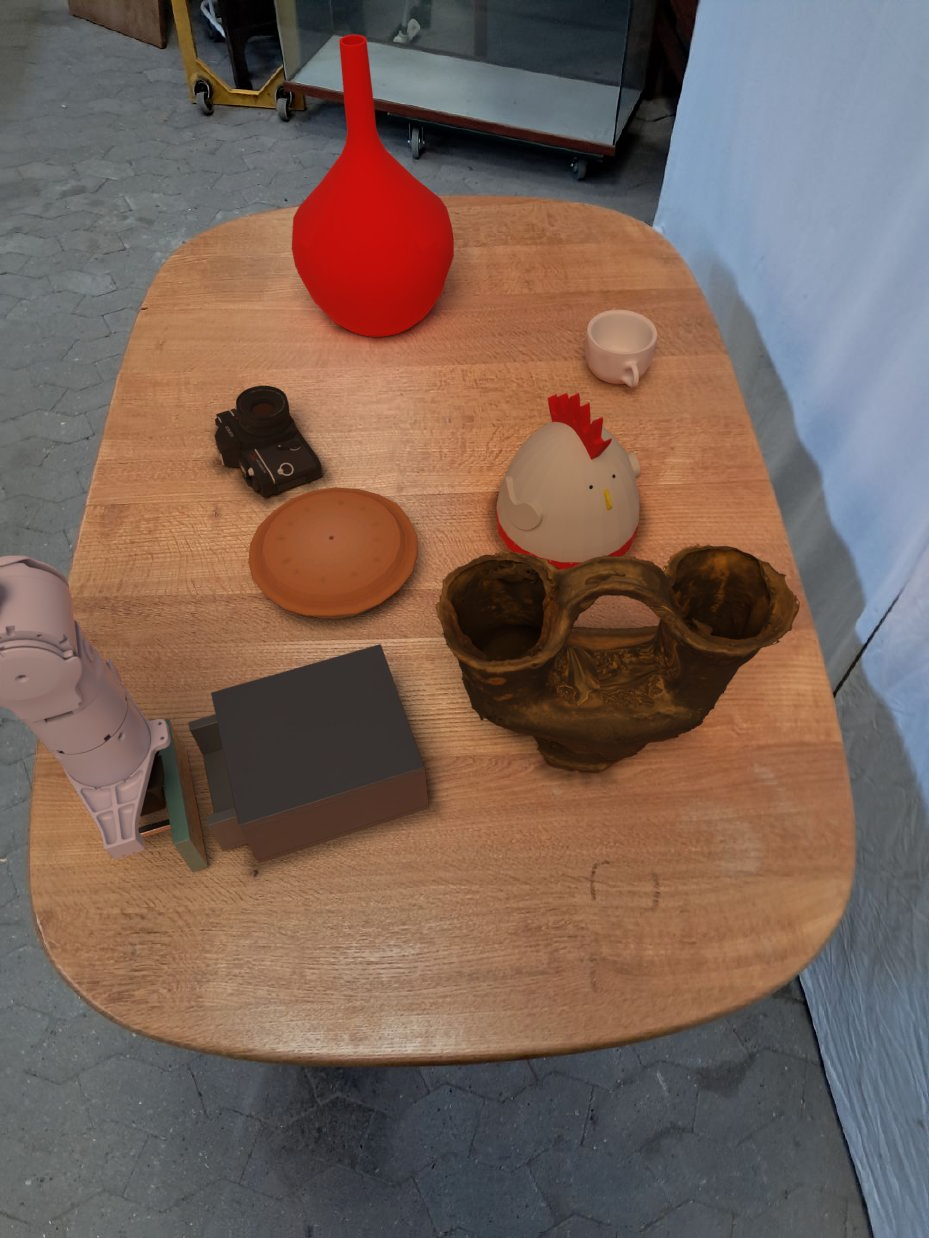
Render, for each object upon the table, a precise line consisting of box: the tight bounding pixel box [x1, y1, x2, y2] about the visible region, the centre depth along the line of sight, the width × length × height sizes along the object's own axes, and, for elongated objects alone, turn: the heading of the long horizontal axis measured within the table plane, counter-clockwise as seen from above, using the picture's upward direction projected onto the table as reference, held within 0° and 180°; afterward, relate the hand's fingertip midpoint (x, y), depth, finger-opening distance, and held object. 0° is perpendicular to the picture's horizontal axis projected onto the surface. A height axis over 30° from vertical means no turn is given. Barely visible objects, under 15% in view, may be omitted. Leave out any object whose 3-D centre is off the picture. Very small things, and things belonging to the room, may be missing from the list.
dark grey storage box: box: [210, 643, 430, 864], centre depth 71 cm, size 14×12×7 cm
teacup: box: [584, 309, 658, 388], centre depth 100 cm, size 10×8×5 cm
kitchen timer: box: [495, 392, 642, 570], centre depth 83 cm, size 14×14×15 cm
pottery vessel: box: [434, 543, 801, 774], centre depth 68 cm, size 25×11×20 cm, turn 92°
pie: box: [248, 486, 419, 620], centre depth 84 cm, size 15×16×5 cm
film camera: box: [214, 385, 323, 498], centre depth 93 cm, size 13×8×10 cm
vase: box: [291, 34, 455, 338], centre depth 98 cm, size 18×18×30 cm
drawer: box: [138, 713, 249, 873], centre depth 69 cm, size 17×10×5 cm, turn 109°
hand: (151, 804), depth 68 cm, fingers closed, pressing on drawer
